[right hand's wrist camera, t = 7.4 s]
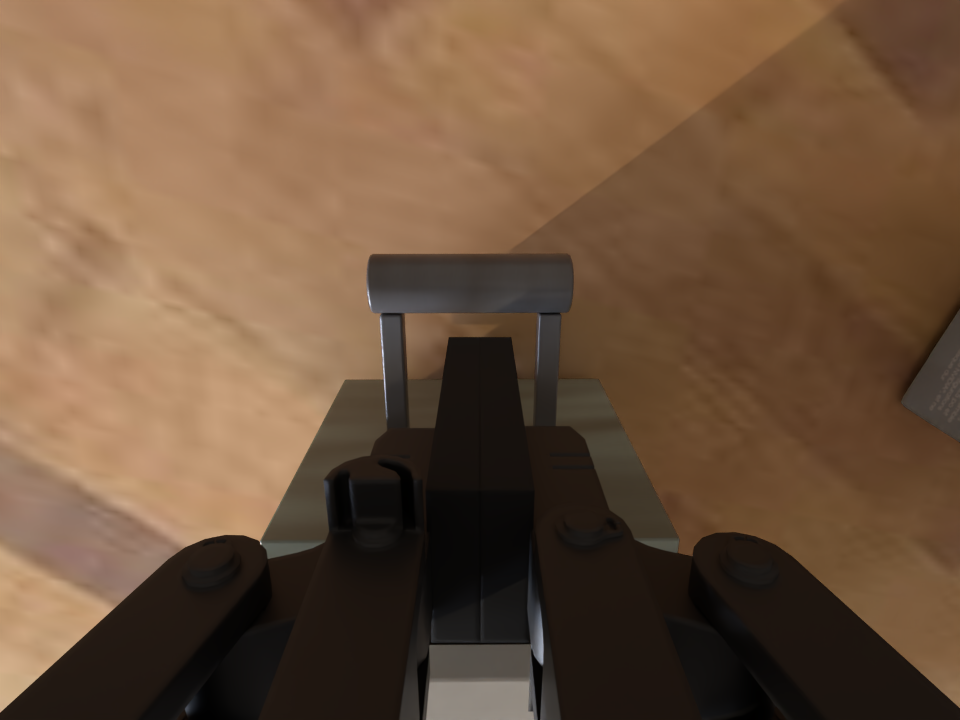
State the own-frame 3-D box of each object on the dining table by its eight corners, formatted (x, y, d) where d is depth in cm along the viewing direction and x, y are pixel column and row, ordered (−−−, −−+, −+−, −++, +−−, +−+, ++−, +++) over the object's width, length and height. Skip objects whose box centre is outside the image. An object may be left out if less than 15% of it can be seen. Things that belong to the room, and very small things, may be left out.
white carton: (340, 437, 23) (233, 681, 13) (604, 436, 23) (707, 677, 13) (368, 735, 29) (310, 1066, 19) (579, 733, 29) (636, 1061, 19)
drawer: (331, 229, 19) (219, 304, 11) (610, 229, 19) (715, 303, 11) (372, 689, 27) (324, 947, 18) (575, 688, 27) (621, 944, 18)
